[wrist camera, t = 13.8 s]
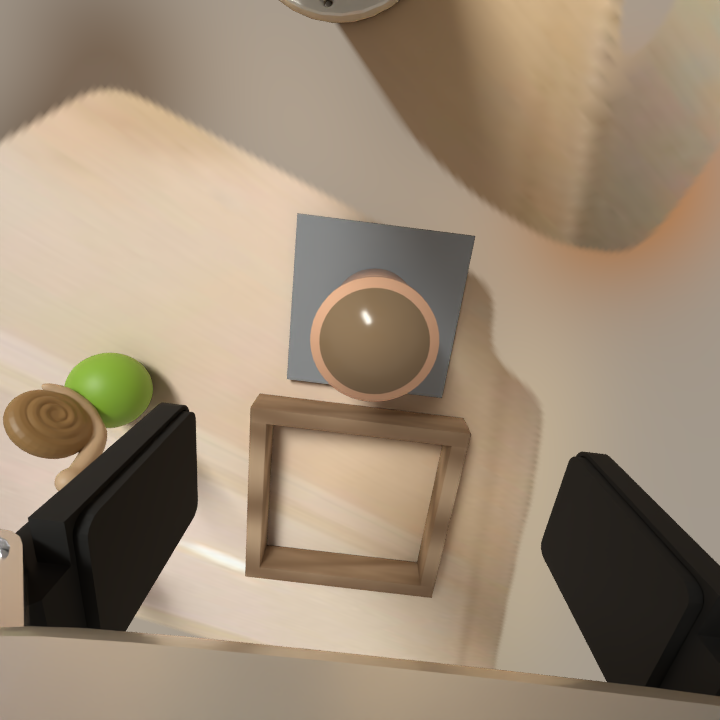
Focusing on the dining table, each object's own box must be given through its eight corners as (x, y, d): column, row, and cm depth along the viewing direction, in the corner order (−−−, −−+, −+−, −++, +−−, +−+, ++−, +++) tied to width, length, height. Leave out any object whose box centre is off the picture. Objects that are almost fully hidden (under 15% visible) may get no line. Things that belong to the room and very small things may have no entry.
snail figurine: (145, 428, 33) (25, 536, 21) (83, 371, 31) (-81, 455, 20) (189, 390, 32) (87, 484, 20) (127, 329, 30) (-20, 394, 19)
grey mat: (298, 213, 27) (297, 213, 26) (473, 235, 27) (475, 236, 27) (288, 376, 31) (286, 379, 30) (440, 394, 31) (441, 397, 31)
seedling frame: (259, 393, 31) (250, 407, 29) (463, 418, 32) (471, 434, 29) (253, 553, 37) (245, 576, 35) (427, 573, 37) (431, 597, 35)
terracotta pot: (331, 256, 27) (315, 269, 20) (429, 269, 27) (451, 287, 20) (322, 349, 30) (305, 394, 22) (413, 361, 30) (427, 409, 22)
